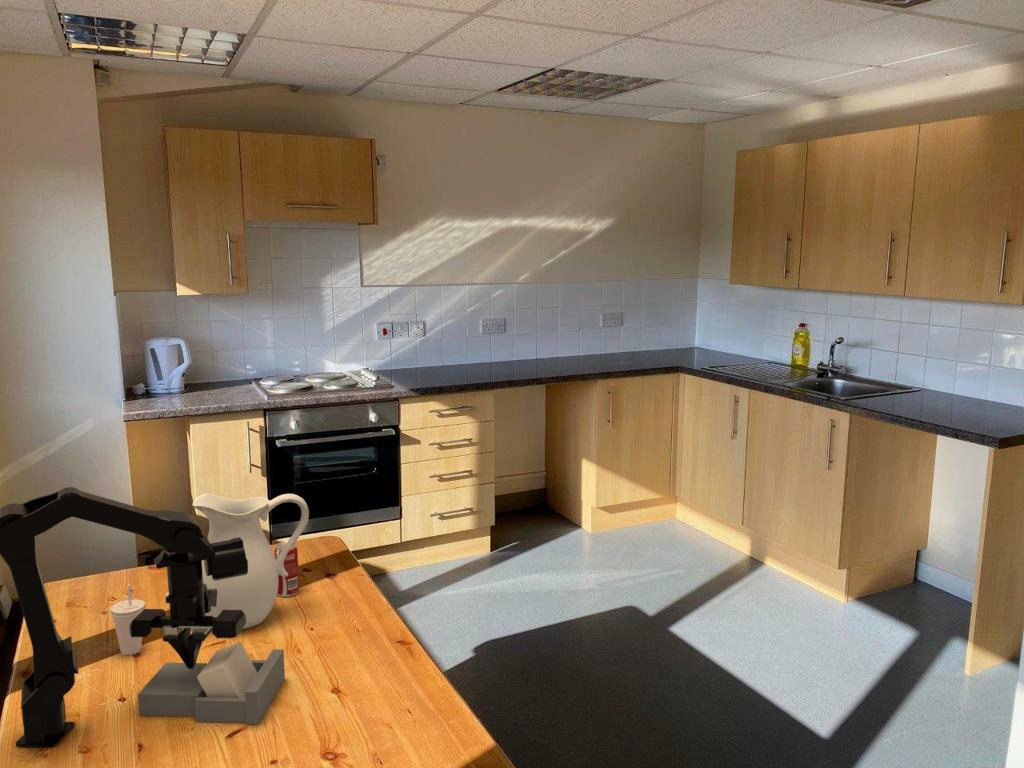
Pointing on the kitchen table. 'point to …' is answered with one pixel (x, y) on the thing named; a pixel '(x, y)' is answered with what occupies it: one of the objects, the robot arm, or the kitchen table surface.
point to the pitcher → (247, 552)
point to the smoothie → (127, 623)
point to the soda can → (288, 571)
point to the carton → (228, 673)
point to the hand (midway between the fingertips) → (191, 667)
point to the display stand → (186, 698)
